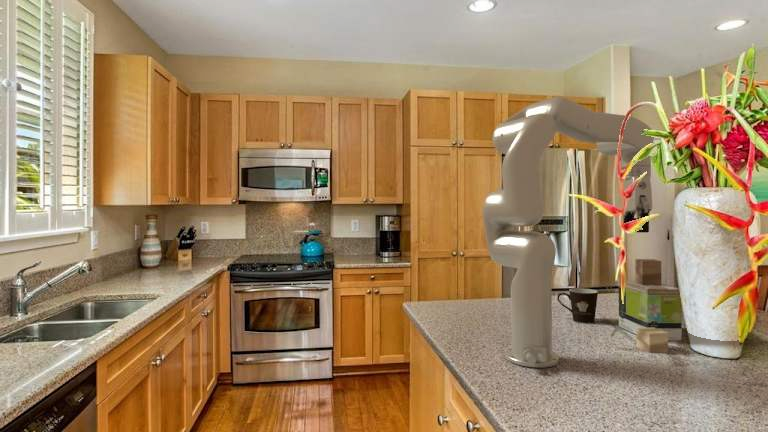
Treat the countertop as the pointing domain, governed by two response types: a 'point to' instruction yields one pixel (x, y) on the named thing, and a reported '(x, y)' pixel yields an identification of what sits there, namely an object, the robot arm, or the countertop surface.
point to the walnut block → (648, 271)
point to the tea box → (651, 309)
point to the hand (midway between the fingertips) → (635, 231)
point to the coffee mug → (582, 304)
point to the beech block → (652, 339)
